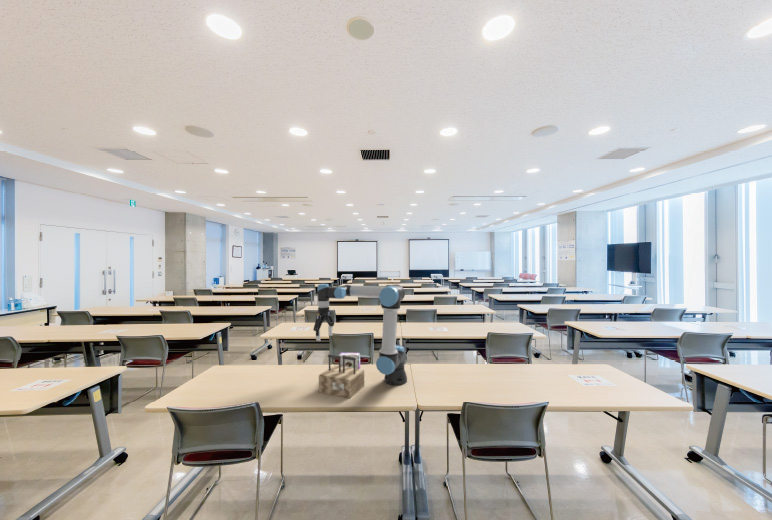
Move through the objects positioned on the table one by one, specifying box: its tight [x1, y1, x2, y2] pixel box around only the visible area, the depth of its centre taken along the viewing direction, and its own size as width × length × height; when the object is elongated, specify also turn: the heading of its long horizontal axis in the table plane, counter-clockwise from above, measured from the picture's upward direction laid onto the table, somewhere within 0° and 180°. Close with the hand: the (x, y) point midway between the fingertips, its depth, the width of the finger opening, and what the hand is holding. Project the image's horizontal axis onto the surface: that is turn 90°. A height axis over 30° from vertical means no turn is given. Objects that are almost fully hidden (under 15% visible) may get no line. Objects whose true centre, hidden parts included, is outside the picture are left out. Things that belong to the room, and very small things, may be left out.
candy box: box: [338, 352, 361, 369], centre depth 217 cm, size 14×6×16 cm, turn 84°
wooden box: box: [318, 370, 365, 399], centre depth 198 cm, size 22×18×10 cm
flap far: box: [327, 356, 365, 375], centre depth 202 cm, size 22×9×11 cm, turn 66°
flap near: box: [318, 354, 357, 381], centre depth 194 cm, size 22×9×11 cm, turn 66°
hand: (324, 338), depth 214 cm, fingers open, 13 cm apart
